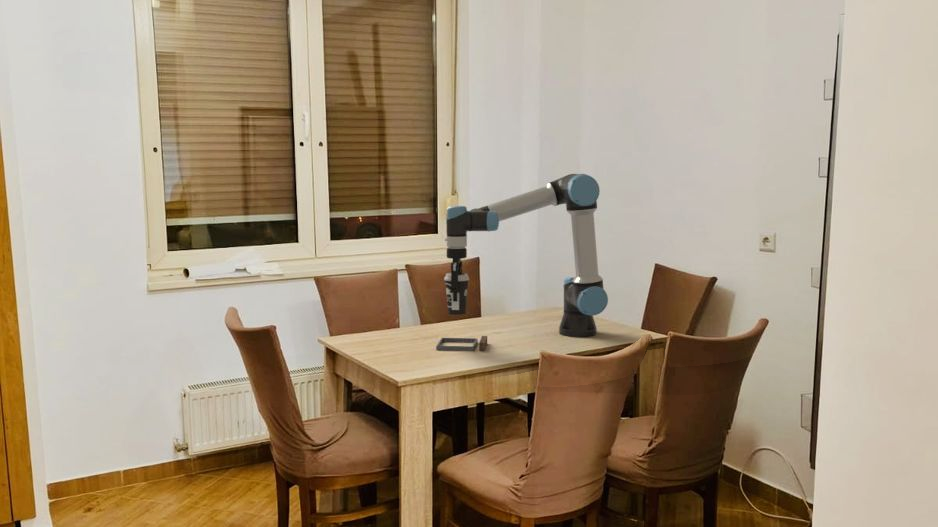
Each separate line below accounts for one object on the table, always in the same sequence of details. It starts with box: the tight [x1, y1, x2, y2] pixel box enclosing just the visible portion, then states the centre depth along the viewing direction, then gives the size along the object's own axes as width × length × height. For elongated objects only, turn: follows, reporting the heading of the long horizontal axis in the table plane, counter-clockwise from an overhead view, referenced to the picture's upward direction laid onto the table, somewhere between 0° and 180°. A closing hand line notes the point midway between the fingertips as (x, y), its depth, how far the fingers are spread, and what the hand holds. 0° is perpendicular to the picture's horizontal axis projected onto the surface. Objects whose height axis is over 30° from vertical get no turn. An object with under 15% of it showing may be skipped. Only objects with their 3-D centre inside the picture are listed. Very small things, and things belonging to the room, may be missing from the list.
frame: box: [435, 337, 479, 352], centre depth 295 cm, size 14×14×2 cm
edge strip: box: [478, 335, 488, 352], centre depth 293 cm, size 2×12×3 cm, turn 173°
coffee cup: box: [443, 272, 470, 316], centre depth 293 cm, size 10×10×15 cm
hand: (456, 307), depth 294 cm, fingers closed on coffee cup, 7 cm apart
